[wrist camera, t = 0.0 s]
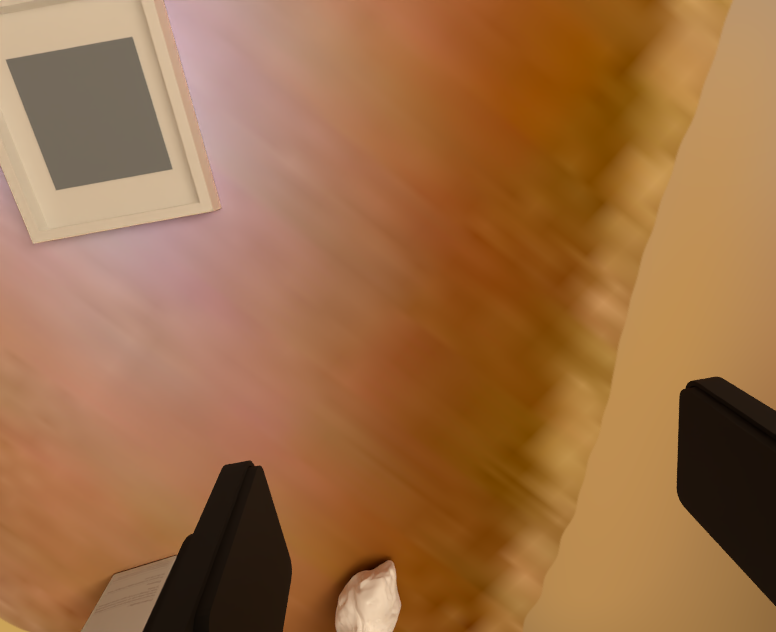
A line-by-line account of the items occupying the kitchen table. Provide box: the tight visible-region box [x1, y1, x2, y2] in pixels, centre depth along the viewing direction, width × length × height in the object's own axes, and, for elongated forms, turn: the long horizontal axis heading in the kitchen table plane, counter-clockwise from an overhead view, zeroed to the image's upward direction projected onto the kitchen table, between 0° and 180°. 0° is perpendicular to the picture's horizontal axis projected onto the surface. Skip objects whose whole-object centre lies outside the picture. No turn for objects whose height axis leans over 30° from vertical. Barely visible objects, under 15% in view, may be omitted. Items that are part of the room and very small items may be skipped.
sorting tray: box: [0, 0, 221, 244], centre depth 35 cm, size 16×14×2 cm
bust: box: [335, 560, 401, 632], centre depth 48 cm, size 12×8×11 cm
